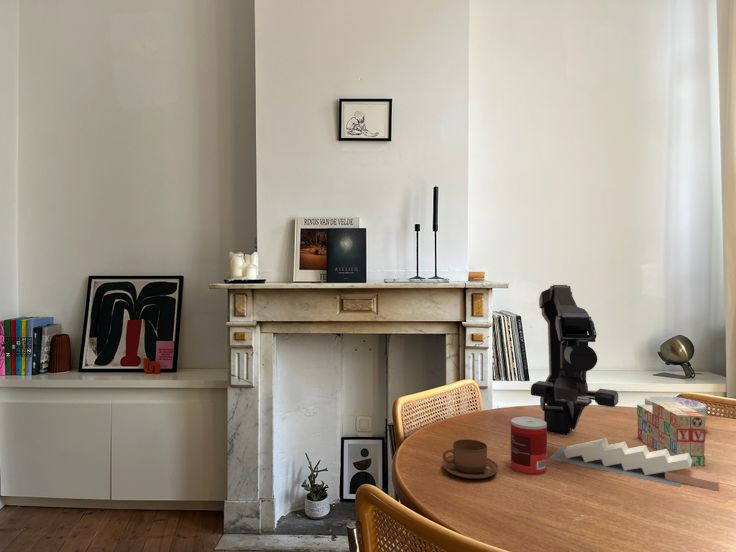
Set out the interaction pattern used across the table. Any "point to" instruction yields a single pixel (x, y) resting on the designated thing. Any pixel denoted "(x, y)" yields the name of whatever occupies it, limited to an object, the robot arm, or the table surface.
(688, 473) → the domino
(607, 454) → the domino
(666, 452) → the domino
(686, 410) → the stack of blocks
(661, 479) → the mat
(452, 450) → the cup and saucer
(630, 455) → the domino
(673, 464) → the domino
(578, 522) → the table surface
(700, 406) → the paper bowls
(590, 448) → the domino
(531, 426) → the canned food
